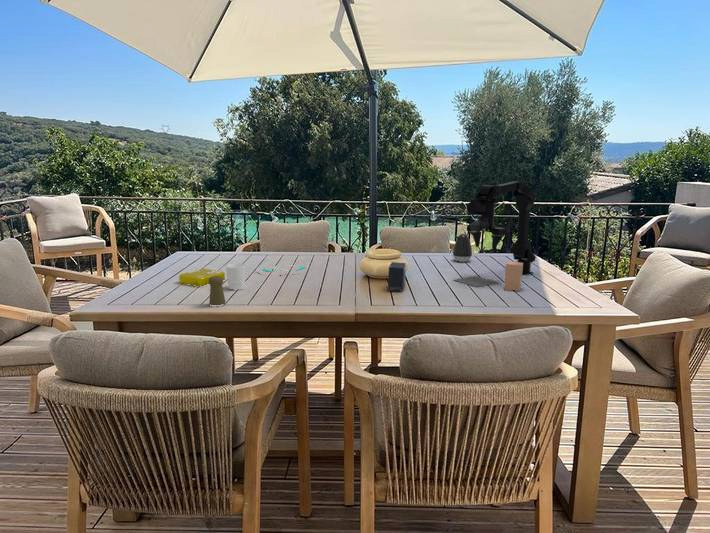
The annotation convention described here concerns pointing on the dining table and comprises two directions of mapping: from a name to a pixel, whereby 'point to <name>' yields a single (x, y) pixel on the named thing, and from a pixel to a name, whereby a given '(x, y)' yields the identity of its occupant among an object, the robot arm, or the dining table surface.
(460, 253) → the dark grey rounded vessel
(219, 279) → the cork
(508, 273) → the tan rectangular block
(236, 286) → the white cup
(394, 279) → the small box
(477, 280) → the rubber mat
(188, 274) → the element tile
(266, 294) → the dining table surface
